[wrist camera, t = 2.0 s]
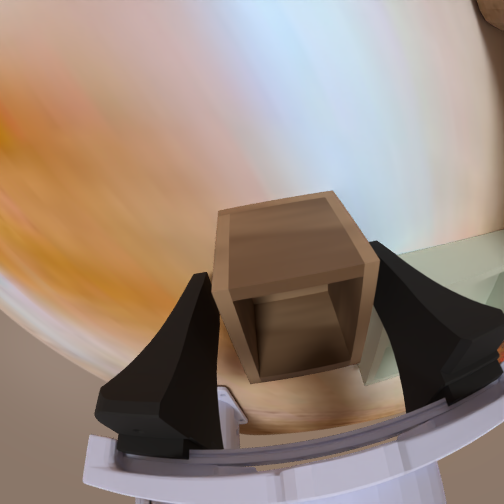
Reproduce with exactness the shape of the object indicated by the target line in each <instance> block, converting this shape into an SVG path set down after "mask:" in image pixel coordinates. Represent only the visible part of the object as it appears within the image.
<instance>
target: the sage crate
mask: <svg viewBox="0 0 504 504" xmlns="http://www.w3.org/2000/svg"><path fill="white" fill-rule="evenodd" d="M397 256H399V257H400V258H401V259H403V260H404V261H405V262H407V263H408V264H409V265H411V266H412V267H414V268H415V269H417V270H418V271H420V272H421V273H423V274H424V275H426V276H427V277H429V278H430V279H432V280H433V281H435V282H437V283H439V284H440V285H442V286H444V287H446V288H448V289H450V290H452V291H454V292H456V293H458V294H460V295H462V296H464V297H467V298H469V299H471V300H474V301H477V302H479V303H482V304H485V305H488V306H492V307H495V308H498V309H501V310H502V311H503V313H504V229H503V230H499V231H495V232H492V233H488V234H484V235H480V236H476V237H472V238H468V239H464V240H460V241H456V242H452V243H448V244H444V245H439V246H435V247H431V248H427V249H422V250H418V251H414V252H409V253H405V254H400V255H397ZM358 366H359V369H360V372H361V376H362V379H363V382H364V386H367V385H370V384H374V383H377V382H380V381H384V380H387V379H390V378H393V377H396V376H399V371H398V367H397V363H396V360H395V356H394V353H393V350H392V346H391V343H390V340H389V338H388V335H387V333H386V331H385V328H384V326H383V324H382V322H381V320H380V318H379V316H378V314H377V312H376V310H375V308H374V306H373V308H372V313H371V318H370V323H369V327H368V332H367V337H366V341H365V345H364V349H363V354H362V358H361V361H360V363H358Z"/></svg>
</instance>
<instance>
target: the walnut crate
mask: <svg viewBox="0 0 504 504" xmlns="http://www.w3.org/2000/svg"><path fill="white" fill-rule="evenodd" d="M379 264H380V259H379V258H378V256H377V255H376V253H375V252H374V250H373V248H372V247H371V245H370V244H369V242H368V241H367V239H366V238H365V236H364V235H363V233H362V232H361V230H360V229H359V227H358V226H357V224H356V223H355V221H354V220H353V218H352V217H351V215H350V214H349V212H348V211H347V210H346V208H345V207H344V205H343V204H342V203H341V201H340V200H339V198H338V197H337V196H336V194H335V193H334V191H326V192H320V193H313V194H307V195H301V196H295V197H289V198H283V199H278V200H272V201H267V202H261V203H256V204H250V205H245V206H240V207H235V208H230V209H225V210H220V211H218V221H217V231H216V242H215V253H214V265H213V278H212V291H211V292H212V295H213V297H214V300H215V302H216V305H217V307H218V310H219V312H220V314H221V317H222V319H223V322H224V324H225V327H226V329H227V331H228V334H229V336H230V339H231V341H232V343H233V346H234V348H235V350H236V352H237V355H238V357H239V359H240V362H241V364H242V366H243V368H244V371H245V373H246V375H247V377H248V380H249V382H250V384H254V383H262V382H269V381H275V380H282V379H288V378H293V377H299V376H304V375H310V374H315V373H319V372H324V371H329V370H333V369H337V368H342V367H346V366H350V365H354V364H358V363H360V361H361V358H362V354H363V349H364V345H365V341H366V337H367V332H368V327H369V323H370V318H371V313H372V308H373V302H374V297H375V291H376V285H377V278H378V272H379Z"/></svg>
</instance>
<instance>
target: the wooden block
mask: <svg viewBox="0 0 504 504" xmlns="http://www.w3.org/2000/svg"><path fill="white" fill-rule="evenodd" d="M477 3H478V6H479V9H480V11H481V13H482V15H483V17H484V18H485V20H486V21H487V22H488V23H490V24H491V25H493V26H495V27H496V28H498V29H500V30H502V31H504V0H477Z"/></svg>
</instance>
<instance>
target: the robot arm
mask: <svg viewBox="0 0 504 504" xmlns="http://www.w3.org/2000/svg"><path fill="white" fill-rule="evenodd" d="M369 244H370V245H371V247H372V248H373V250H374V252H375V253H376V255H377V256H378V258H379V259H380V264H379V272H378V278H377V285H376V291H375V297H374V302H373V306H374V308H375V310H376V312H377V314H378V316H379V318H380V320H381V322H382V324H383V326H384V328H385V331H386V333H387V335H388V338H389V340H390V343H391V346H392V350H393V353H394V356H395V360H396V363H397V367H398V371H399V375H400V380H401V384H402V389H403V395H404V401H405V408H406V414H404V415H401V416H398V417H396V418H393V419H390V420H387V421H384V422H381V423H377V424H374V425H371V426H367V427H364V428H360V429H357V430H353V431H349V432H346V433H341V434H337V435H333V436H328V437H324V438H318V439H313V440H308V441H302V442H297V443H289V444H282V445H274V446H266V447H255V448H242V449H240V439H239V424H246V423H248V419H247V418H246V416H245V415H244V413H243V412H242V410H241V409H240V407H239V406H238V404H237V403H236V401H235V400H234V398H233V397H232V395H231V394H230V392H229V390H228V389H227V388H226V387H217V355H218V342H219V328H220V314H219V310H218V307H217V305H216V302H215V300H214V297H213V295H212V292H211V291H212V284H211V282H210V279H209V276H208V274H207V272H203V273H197V274H194V275H193V276H192V278H191V280H190V281H189V283H188V285H187V287H186V289H185V290H184V292H183V294H182V296H181V297H180V299H179V301H178V302H177V304H176V306H175V307H174V309H173V311H172V312H171V314H170V315H169V317H168V318H167V320H166V321H165V323H164V325H163V326H162V327H161V329H160V330H159V332H158V333H157V334H156V335H155V337H154V338H153V339H152V341H151V342H150V343H149V344H148V345H147V346H146V347H145V348H144V350H143V351H142V352H141V353H140V354H139V355H138V356H137V357H136V358H135V359H134V360H133V361H132V362H131V363H130V364H129V365H128V366H127V367H126V368H125V369H124V370H122V371H121V372H120V373H119V374H118V375H117V376H115V377H114V378H113V379H111V380H110V381H109V382H108V383H106V384H105V385H104V386H102V387H101V389H100V392H99V396H98V400H97V405H96V409H95V417H96V419H97V420H98V421H99V422H100V423H102V424H104V425H105V426H107V427H108V428H110V429H112V430H113V431H115V432H116V433H118V434H119V435H118V440H116V439H114V438H110V437H105V436H99V435H94V434H91V435H90V436H89V442H88V447H87V454H86V460H85V468H84V475H83V483H85V484H88V485H91V486H94V487H97V488H101V489H104V490H108V491H112V492H116V493H119V494H123V495H128V496H132V497H136V502H135V504H447V503H446V498H445V493H444V489H443V484H442V480H441V475H440V471H439V468H438V463H437V460H439V459H441V458H444V457H446V456H447V455H449V454H451V453H453V452H455V451H457V450H459V449H460V448H462V447H464V446H466V445H468V444H469V443H471V442H473V441H474V440H476V439H478V438H479V437H481V436H482V435H484V434H486V433H487V432H489V431H490V430H492V429H493V428H495V427H496V426H497V425H499V424H500V423H502V422H503V421H504V361H503V362H502V363H501V364H499V362H498V360H497V359H498V358H499V357H500V354H499V353H498V351H497V349H498V348H499V346H500V345H501V344H502V342H503V341H504V313H503V311H502V310H501V309H498V308H495V307H492V306H488V305H485V304H482V303H479V302H477V301H474V300H471V299H469V298H467V297H464V296H462V295H460V294H458V293H456V292H454V291H452V290H450V289H448V288H446V287H444V286H442V285H440V284H439V283H437V282H435V281H433V280H432V279H430V278H429V277H427V276H426V275H424V274H423V273H421V272H420V271H418V270H417V269H415V268H414V267H412V266H411V265H409V264H408V263H407V262H405V261H404V260H403V259H401V258H400V257H399V256H397V255H396V254H395V253H393V252H392V251H391V250H389V249H388V248H386V247H385V246H384V245H382V244H381V243H380V242H378V241H372V242H369ZM400 434H401V435H400ZM398 435H399V436H398ZM395 436H398V437H397V440H396V441H392V442H388V443H385V444H382V445H379V446H375V447H372V448H369V449H365V450H362V451H358V452H355V453H351V454H347V455H343V456H339V457H334V458H330V459H326V460H320V461H315V462H309V463H305V464H300V465H295V466H291V467H286V468H281V469H274V470H267V471H260V472H257V471H256V468H254V467H246V466H259V465H269V464H279V463H287V462H294V461H301V460H307V459H312V458H318V457H322V456H327V455H332V454H336V453H341V452H344V451H349V450H352V449H356V448H360V447H364V446H367V445H370V444H374V443H377V442H380V441H383V440H386V439H389V438H392V437H395Z"/></svg>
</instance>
